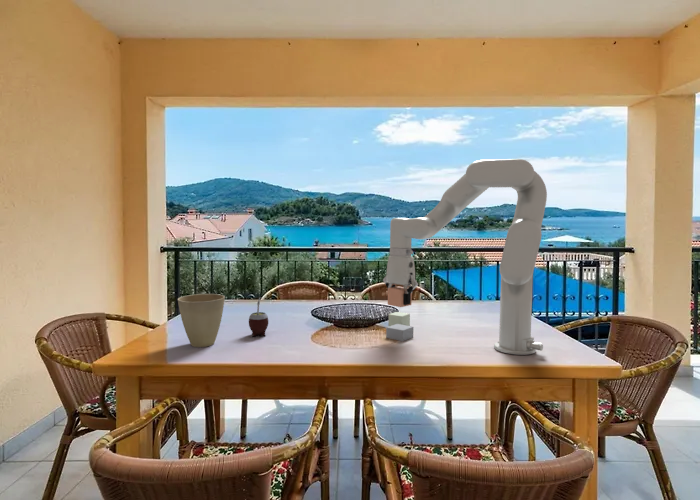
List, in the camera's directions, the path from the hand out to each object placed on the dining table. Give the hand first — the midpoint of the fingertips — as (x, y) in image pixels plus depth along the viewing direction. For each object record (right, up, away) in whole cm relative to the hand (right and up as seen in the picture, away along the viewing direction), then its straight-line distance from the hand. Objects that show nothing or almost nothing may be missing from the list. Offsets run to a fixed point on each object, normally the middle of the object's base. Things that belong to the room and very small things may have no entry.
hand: (399, 302), depth 153 cm
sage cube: (+1, -12, +13) cm, 17 cm away
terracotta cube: (0, -1, 0) cm, 1 cm away
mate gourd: (-51, -12, +3) cm, 52 cm away
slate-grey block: (0, -13, +1) cm, 13 cm away
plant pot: (-67, -13, -9) cm, 69 cm away
